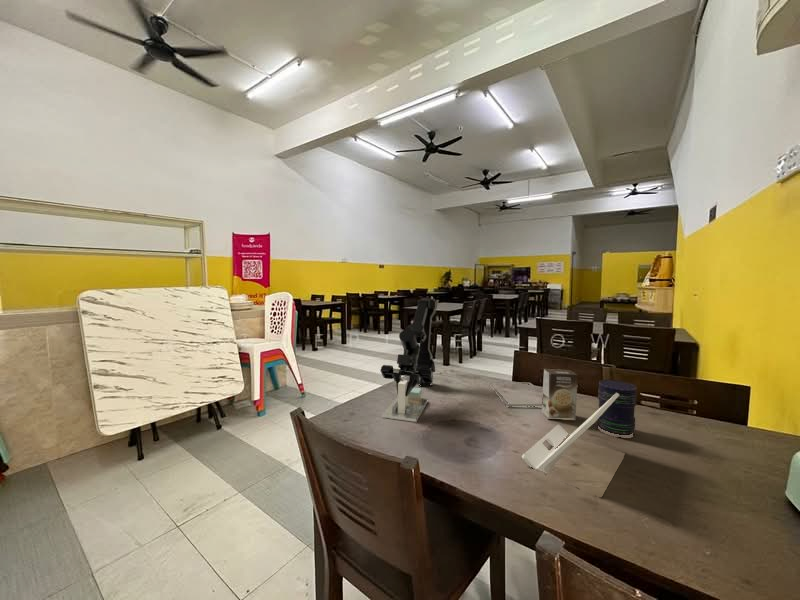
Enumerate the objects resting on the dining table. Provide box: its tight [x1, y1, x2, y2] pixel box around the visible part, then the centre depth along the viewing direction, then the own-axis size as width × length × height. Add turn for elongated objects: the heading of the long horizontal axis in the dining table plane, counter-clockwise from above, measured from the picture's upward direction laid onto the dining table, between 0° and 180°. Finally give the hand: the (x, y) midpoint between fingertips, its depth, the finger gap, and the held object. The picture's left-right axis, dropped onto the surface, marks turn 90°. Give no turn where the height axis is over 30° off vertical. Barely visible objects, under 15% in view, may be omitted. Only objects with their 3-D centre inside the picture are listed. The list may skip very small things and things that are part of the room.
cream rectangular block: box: [397, 379, 409, 414], centre depth 111 cm, size 4×2×10 cm, turn 163°
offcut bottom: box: [408, 394, 422, 403], centre depth 122 cm, size 5×7×2 cm
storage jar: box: [596, 379, 638, 435], centre depth 99 cm, size 10×10×15 cm
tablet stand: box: [521, 393, 619, 473], centre depth 83 cm, size 18×25×17 cm
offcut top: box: [408, 387, 423, 398], centre depth 122 cm, size 5×7×2 cm
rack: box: [381, 396, 429, 423], centre depth 116 cm, size 19×12×3 cm, turn 163°
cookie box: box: [541, 368, 579, 420], centre depth 110 cm, size 9×6×16 cm
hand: (402, 395), depth 110 cm, fingers closed on cream rectangular block, 2 cm apart
